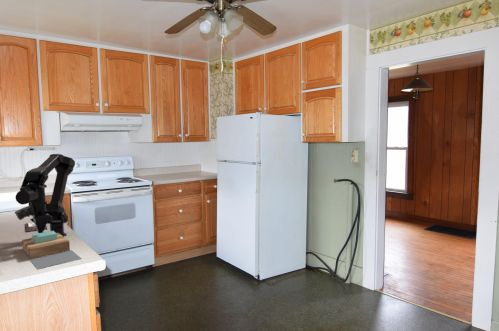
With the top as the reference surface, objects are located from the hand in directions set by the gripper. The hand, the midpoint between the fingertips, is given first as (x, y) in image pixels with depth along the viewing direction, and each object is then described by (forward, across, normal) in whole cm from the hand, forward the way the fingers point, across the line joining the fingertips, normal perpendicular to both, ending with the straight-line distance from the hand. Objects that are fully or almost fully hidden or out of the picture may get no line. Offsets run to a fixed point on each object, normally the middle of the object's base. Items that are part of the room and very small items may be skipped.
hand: (40, 234), depth 154 cm
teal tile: (-1, +8, 0) cm, 8 cm away
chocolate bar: (+5, -35, +5) cm, 36 cm away
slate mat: (+4, +24, 0) cm, 24 cm away
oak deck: (+4, +9, 0) cm, 10 cm away
